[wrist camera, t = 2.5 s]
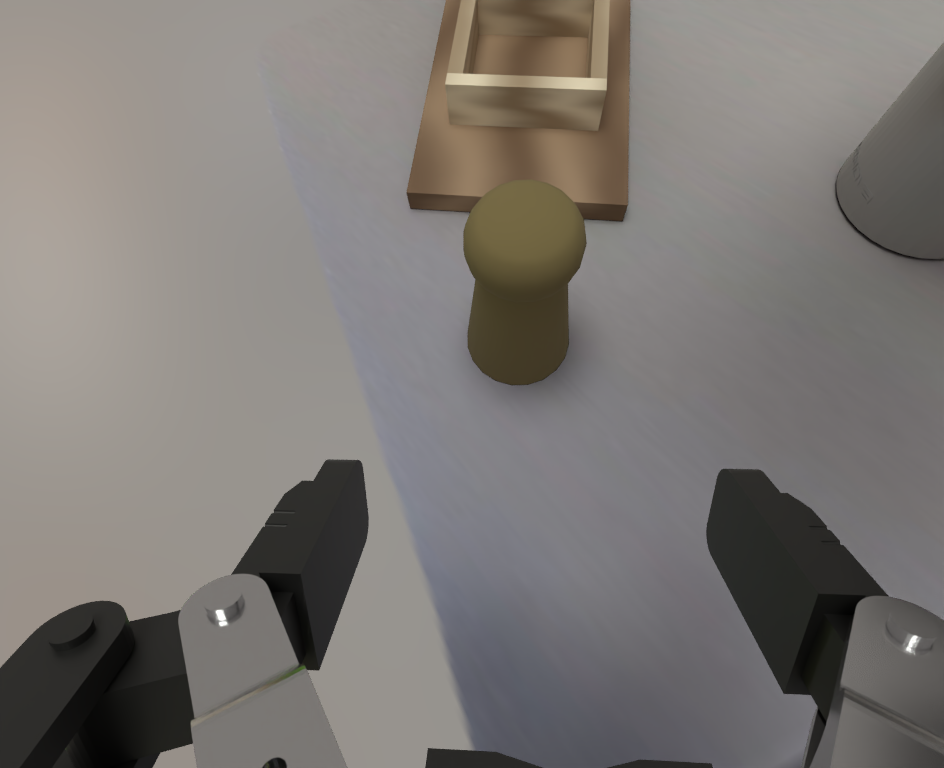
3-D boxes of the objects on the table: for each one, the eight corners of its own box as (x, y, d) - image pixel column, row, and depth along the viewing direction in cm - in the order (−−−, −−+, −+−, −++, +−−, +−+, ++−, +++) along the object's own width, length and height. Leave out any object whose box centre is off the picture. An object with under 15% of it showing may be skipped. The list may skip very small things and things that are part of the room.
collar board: (626, -3, 41) (640, -70, 37) (622, 220, 33) (639, 168, 29) (453, -7, 42) (447, -72, 38) (410, 208, 34) (397, 156, 30)
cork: (450, 320, 31) (424, 192, 21) (536, 278, 32) (552, 135, 22) (497, 402, 29) (494, 305, 19) (588, 356, 30) (634, 237, 19)
